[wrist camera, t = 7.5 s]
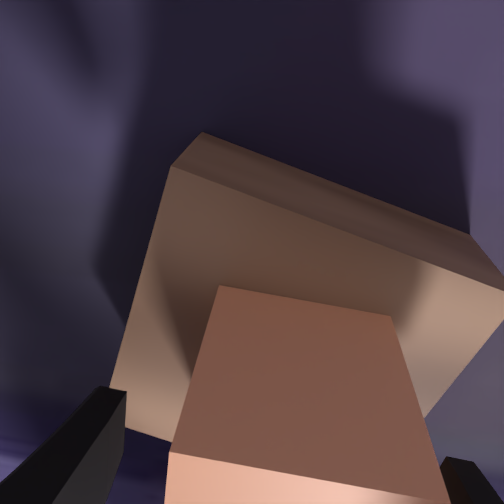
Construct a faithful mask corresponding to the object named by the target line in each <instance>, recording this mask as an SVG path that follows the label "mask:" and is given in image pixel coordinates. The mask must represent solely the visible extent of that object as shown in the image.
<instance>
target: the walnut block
mask: <svg viewBox="0 0 504 504" xmlns="http://www.w3.org/2000/svg"><path fill="white" fill-rule="evenodd" d="M219 285H222V286H227V287H233V288H238V289H244V290H249V291H255V292H260V293H266V294H271V295H277V296H283V297H288V298H294V299H299V300H305V301H310V302H316V303H321V304H327V305H332V306H338V307H343V308H349V309H355V310H360V311H366V312H371V313H377V314H382V315H388V316H391V318H392V321H393V325H394V328H395V331H396V334H397V337H398V340H399V343H400V346H401V349H402V353H403V356H404V359H405V362H406V365H407V368H408V371H409V374H410V377H411V381H412V384H413V387H414V390H415V393H416V396H417V399H418V402H419V406H420V409H421V412H422V415H423V418H424V417H425V416H426V415H427V414H428V412H429V411H430V410H431V409H432V407H433V406H434V405H435V404H436V403H437V401H438V400H439V399H440V398H441V396H442V395H443V394H444V393H445V391H446V390H447V389H448V388H449V386H450V385H451V384H452V383H453V381H454V380H455V379H456V378H457V377H458V375H459V374H460V373H461V372H462V370H463V369H464V368H465V367H466V365H467V364H468V363H469V362H470V360H471V359H472V358H473V357H474V355H475V354H476V353H477V352H478V351H479V349H480V348H481V347H482V346H483V344H484V343H485V342H486V341H487V339H488V338H489V337H490V336H491V334H492V333H493V332H494V331H495V329H496V328H497V327H498V326H499V325H500V323H501V322H502V321H503V320H504V276H503V275H502V274H501V272H500V271H499V270H498V269H497V267H496V266H495V265H494V264H493V262H492V261H491V260H490V259H489V258H488V256H487V255H486V254H485V253H484V251H483V250H482V249H481V248H480V246H479V245H478V244H477V243H476V241H475V240H474V239H473V238H472V237H471V235H469V234H466V233H464V232H461V231H459V230H456V229H453V228H451V227H448V226H446V225H443V224H440V223H438V222H435V221H433V220H430V219H427V218H425V217H422V216H420V215H417V214H414V213H412V212H409V211H407V210H404V209H401V208H399V207H396V206H394V205H391V204H389V203H386V202H383V201H381V200H378V199H376V198H373V197H370V196H368V195H365V194H363V193H360V192H357V191H355V190H352V189H350V188H347V187H344V186H342V185H339V184H337V183H334V182H331V181H329V180H326V179H324V178H321V177H318V176H316V175H313V174H311V173H308V172H305V171H303V170H300V169H298V168H295V167H292V166H290V165H287V164H285V163H282V162H279V161H277V160H274V159H272V158H269V157H266V156H264V155H261V154H259V153H256V152H253V151H251V150H248V149H246V148H243V147H240V146H238V145H235V144H233V143H230V142H227V141H225V140H222V139H220V138H217V137H214V136H212V135H209V134H207V133H204V132H201V133H200V134H199V135H198V136H197V137H196V138H195V140H194V141H193V142H192V143H191V144H190V145H189V146H188V147H187V148H186V149H185V151H184V152H183V153H182V154H181V155H180V156H179V157H178V158H177V159H176V160H175V162H174V163H173V164H172V165H171V166H170V170H169V174H168V177H167V181H166V184H165V188H164V192H163V195H162V199H161V202H160V206H159V210H158V213H157V217H156V221H155V224H154V228H153V231H152V235H151V239H150V242H149V246H148V249H147V253H146V257H145V260H144V264H143V267H142V271H141V275H140V278H139V282H138V286H137V289H136V293H135V296H134V300H133V304H132V307H131V311H130V314H129V318H128V322H127V325H126V329H125V332H124V336H123V340H122V343H121V347H120V350H119V354H118V358H117V361H116V365H115V369H114V372H113V376H112V379H111V383H110V387H109V388H113V389H118V390H123V391H127V401H126V418H125V427H127V428H130V429H133V430H136V431H139V432H142V433H145V434H148V435H151V436H154V437H157V438H160V439H163V440H166V441H170V442H172V441H173V438H174V434H175V431H176V428H177V424H178V421H179V418H180V414H181V411H182V408H183V404H184V401H185V398H186V394H187V391H188V388H189V384H190V381H191V378H192V374H193V371H194V367H195V364H196V361H197V357H198V354H199V351H200V347H201V344H202V341H203V337H204V334H205V331H206V327H207V324H208V321H209V317H210V314H211V310H212V307H213V304H214V300H215V297H216V294H217V290H218V287H219Z"/></svg>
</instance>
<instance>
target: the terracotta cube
mask: <svg viewBox="0 0 504 504" xmlns="http://www.w3.org/2000/svg"><path fill="white" fill-rule="evenodd" d="M164 504H451V502H450V499H449V496H448V493H447V490H446V486H445V483H444V480H443V477H442V474H441V471H440V468H439V465H438V462H437V458H436V455H435V452H434V449H433V446H432V443H431V440H430V437H429V434H428V430H427V427H426V424H425V421H424V418H423V415H422V412H421V409H420V406H419V402H418V399H417V396H416V393H415V390H414V387H413V384H412V381H411V377H410V374H409V371H408V368H407V365H406V362H405V359H404V356H403V353H402V349H401V346H400V343H399V340H398V337H397V334H396V331H395V328H394V325H393V321H392V318H391V316H388V315H382V314H377V313H371V312H366V311H360V310H355V309H349V308H343V307H338V306H332V305H327V304H321V303H316V302H310V301H305V300H299V299H294V298H288V297H283V296H277V295H271V294H266V293H260V292H255V291H249V290H244V289H238V288H233V287H227V286H222V285H219V287H218V290H217V294H216V297H215V300H214V304H213V307H212V310H211V314H210V317H209V321H208V324H207V327H206V331H205V334H204V337H203V341H202V344H201V347H200V351H199V354H198V357H197V361H196V364H195V367H194V371H193V374H192V378H191V381H190V384H189V388H188V391H187V394H186V398H185V401H184V404H183V408H182V411H181V414H180V418H179V421H178V424H177V428H176V431H175V434H174V438H173V441H172V445H171V448H170V451H169V460H168V471H167V481H166V491H165V501H164Z"/></svg>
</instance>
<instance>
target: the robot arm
mask: <svg viewBox="0 0 504 504" xmlns="http://www.w3.org/2000/svg"><path fill="white" fill-rule="evenodd" d="M126 401H127V391H123V390H118V389H113V388H108V387H103V386H99V387H97V388H95V389H94V390H93V392H92V393H91V394H90V395H89V396H88V397H87V398H86V399H85V400H84V402H83V403H82V404H81V405H80V406H79V407H78V408H77V409H76V410H75V411H74V412H73V413H72V414H71V415H70V416H69V417H68V418H67V420H66V421H65V422H64V423H63V424H62V425H61V426H60V427H59V428H58V429H57V430H56V431H55V432H54V433H53V434H52V435H51V436H50V437H49V438H48V439H47V440H46V441H44V442H43V443H42V444H41V445H40V446H39V447H38V448H37V449H36V450H35V451H34V452H33V453H32V454H31V455H30V456H29V457H28V458H27V459H26V460H25V461H23V462H22V463H21V464H20V465H19V466H18V467H17V468H16V469H15V470H14V471H13V472H12V473H11V474H9V475H8V476H7V477H6V478H5V479H4V480H3V481H2V482H0V504H105V503H106V500H107V498H108V495H109V492H110V490H111V487H112V484H113V481H114V478H115V475H116V473H117V470H118V467H119V464H120V461H121V458H122V455H123V452H124V435H125V418H126ZM440 471H441V474H442V477H443V480H444V483H445V486H446V490H447V493H448V496H449V499H450V502H451V504H504V502H503V501H502V500H501V498H500V497H499V496H498V494H497V493H496V491H495V490H494V489H493V487H492V486H491V485H490V483H489V482H488V481H487V479H486V478H485V476H484V475H483V474H482V472H481V471H480V470H479V469H478V467H477V466H476V465H475V463H474V462H472V461H467V460H462V459H457V458H452V457H447V456H446V458H445V459H444V461H443V463H442V464H441V466H440Z"/></svg>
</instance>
